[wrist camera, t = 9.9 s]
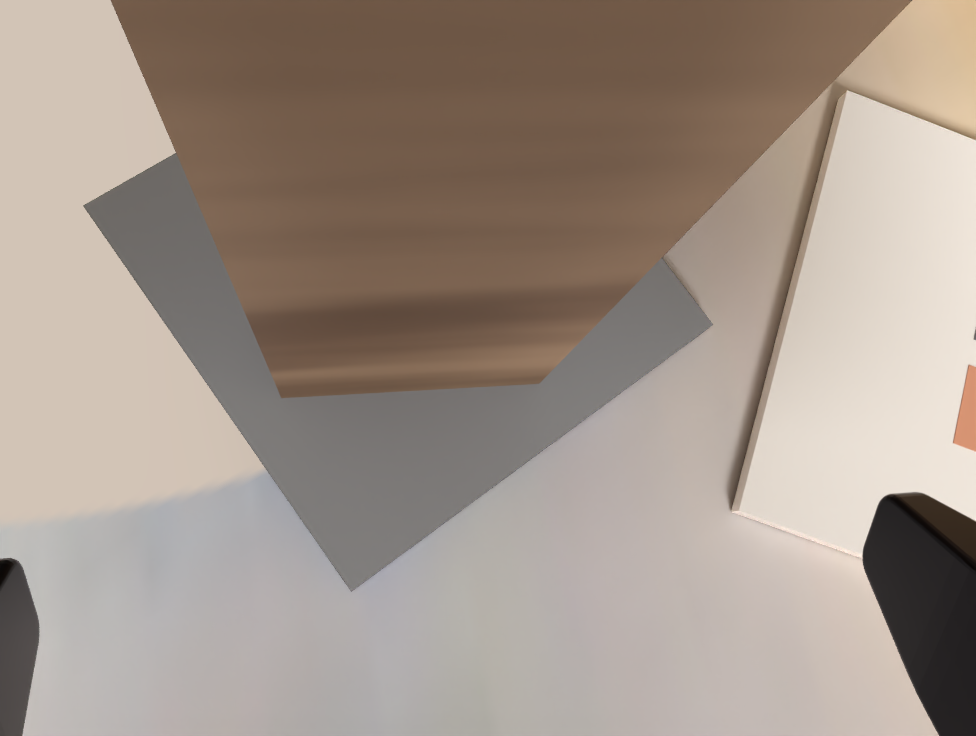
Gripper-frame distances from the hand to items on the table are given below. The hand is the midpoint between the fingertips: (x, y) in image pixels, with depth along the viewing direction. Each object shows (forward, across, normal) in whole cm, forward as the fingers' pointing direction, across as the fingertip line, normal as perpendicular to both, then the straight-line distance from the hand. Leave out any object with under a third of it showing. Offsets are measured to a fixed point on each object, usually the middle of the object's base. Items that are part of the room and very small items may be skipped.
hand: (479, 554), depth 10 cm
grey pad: (+10, 0, +2) cm, 10 cm away
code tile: (+8, -13, +3) cm, 16 cm away
